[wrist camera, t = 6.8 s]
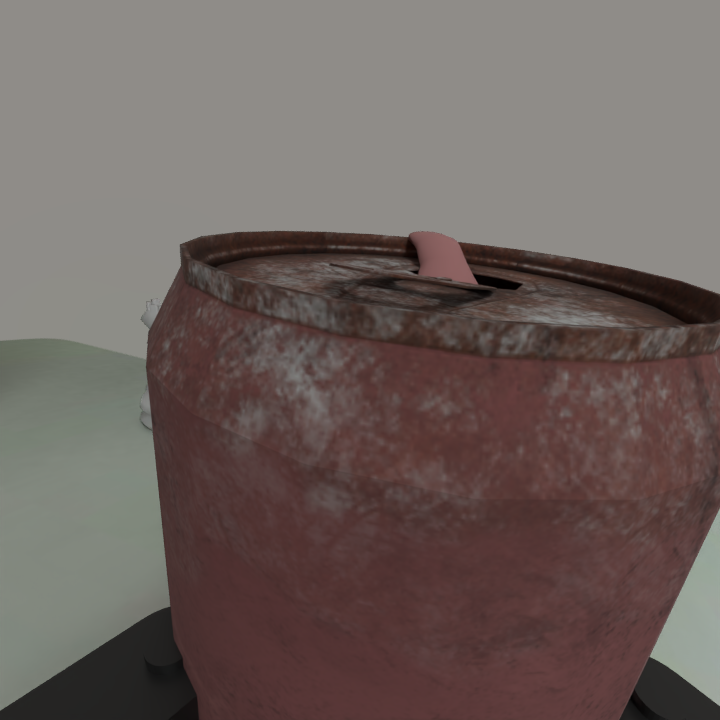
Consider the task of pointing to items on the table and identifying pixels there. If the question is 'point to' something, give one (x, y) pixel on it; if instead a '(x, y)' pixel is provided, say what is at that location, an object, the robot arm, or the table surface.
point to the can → (426, 474)
